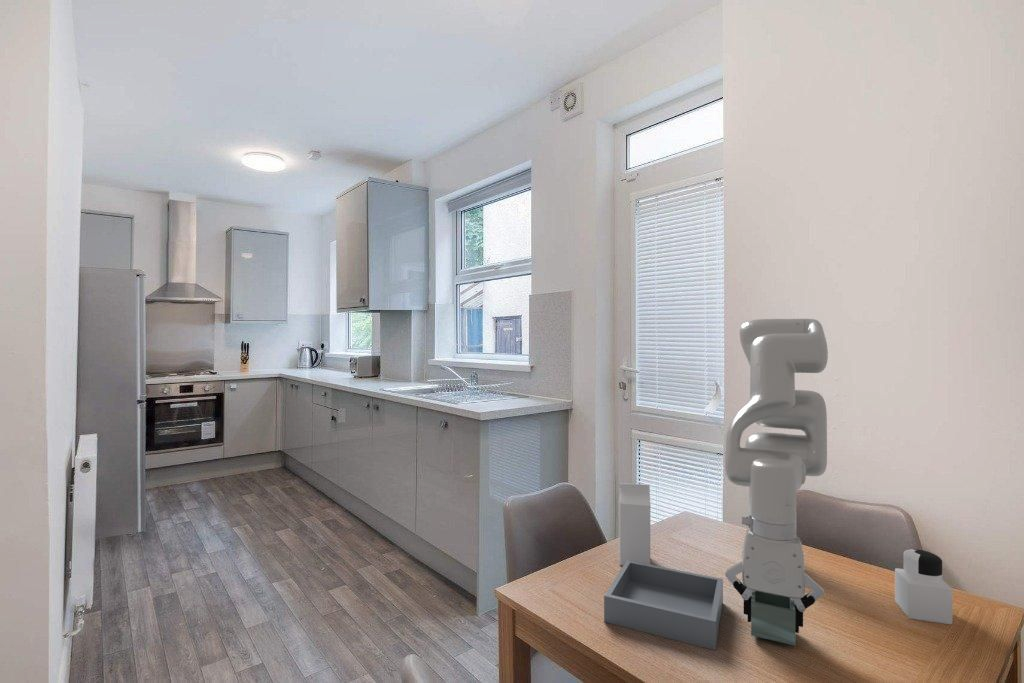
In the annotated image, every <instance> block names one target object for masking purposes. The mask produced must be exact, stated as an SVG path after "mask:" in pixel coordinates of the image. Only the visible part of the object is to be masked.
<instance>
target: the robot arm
mask: <svg viewBox="0 0 1024 683" xmlns="http://www.w3.org/2000/svg"><path fill="white" fill-rule="evenodd" d="M739 340H740V344H741V348H742V350H743V353H744V355H745V358H746V359H747V361H748V364H749V368H750V369H749V370H750V371H749V374H750V375H749V376H750V377H749V399H748V402H747V403H746V404H745V405H744V406H743V407H741V408H740V409H739V410H738V412H736V413H735V415H734V416H733V418H732V419H731V421H730V423H729V425H728V428H727V431H726V434H725V452H724V471H725V476H726V477H727V479H728V480H729V482H731V483H732V484H733V485H736V486H741V487H748V516H746V517H745V516H742V517H741V525H744V526H747V527H748V529H747V530H746V532H745V536H744V540H743V547H742V552H741V553H742V554H741V557H742V561H740V562H738V563H736V564H735V565H733V566H731V567H729V568H727V569H726V570H725V574H724V575H725V577H726V578H727V579H728V581H729V583H731V584H732V586H733V588H734V590H736V591H737V593H738V594H739V595H740V597H741V598H742V600H743V615H746V616H747V623H751V596H752V593H753V591H758V592H763V593H768V594H773V595H778V596H783V597H788V598H792V599H793V601H794V603H795V611H796V621H795V634H799V633H800V627H801V628H804V612H805V611H806V609H808V608H810V607H811V606H813V605H814V604H815V602H817V601H818V600H819V599H820V598H822V597H823V596H824V595H825V591H824V588H823V587H822V586H821V585H819V584H818V583H817V582H816V581H815V580H814V579H813V578H812V577H811V576H809V574H808V573H807V572H806V569H805V554H804V549H803V545H802V544H803V543H802V540H801V538H800V537H799V536H798V535H797V492H798V491H799V490H800V488H802V485H804V484H805V483H806V478H807V477H820V476H822V475H823V474H825V472H826V470H827V465H828V417H827V406H826V402H825V399H824V397H823V396H822V394H820V393H819V392H817V391H813V390H804V389H796V380H795V374H797V373H798V374H799V373H801V374H803V373H804V374H819V373H822V372H823V371H824V370H825V369H826V367H827V364H828V359H829V357H828V356H829V355H828V354H829V352H828V342H827V337H826V335H825V332H824V328H823V325H822V323H821V322H820V321H818V319H814V318H762V319H761V318H760V319H751V320H748V321H745V322H744V323H742V324H741V325H740V327H739ZM754 423H755V424H757V425H758V426H759V427H760V426H761V427H765V428H772V429H784V430H785V429H786V430H799V431H802V432H804V434H791V433H790V434H787V433H781V432H780V433H779V432H756V433H752V434H751V435H749V436H748V437H747V439H746V440H745V444H744V445H745V447H741V438H742V435H743V433H744V431H745V430H746V429H748V427H750V426H751V425H753V424H754ZM739 574H741V579H742V581H741V580H740V579H738V577H737V575H739ZM806 586H807V587H808V588H809V589H811V591H810V592H808V593H805V592H806Z"/></svg>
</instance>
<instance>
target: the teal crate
mask: <svg viewBox="0 0 1024 683" xmlns="http://www.w3.org/2000/svg"><path fill="white" fill-rule="evenodd" d="M751 595H752V596H751V622H750V624H751V625H750V636H752V637H756V638H760V639H766V640H768V641H769V640H770V641H775V642H779V643H783V644H786V645H790V646H795V647H796V632H795V621H796V611H795V603H794V601H793V599H792V598H788V597H783V596H778V595H773V594H768V593H763V592H758V591H753V593H752V594H751Z"/></svg>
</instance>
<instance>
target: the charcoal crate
mask: <svg viewBox="0 0 1024 683" xmlns="http://www.w3.org/2000/svg"><path fill="white" fill-rule="evenodd" d="M603 601H604V602H603V603H604V604H603V605H604V606H603V610H604V611H603V622H604V623H607V624H611V625H615V626H620V627H622V628H627V629H631V630H635V631H638V632H642V633H647V634H650V635H655V636H659V637H662V638H666V639H670V640H674V641H678V642H682V643H684V644H685V643H686V644H689V645H693V646H697V647H701V648H704V649H709V650H713V651H717V650H716V649H717V645H718V644H717V643H718V638H719V637H718V636H719V630H720V626H721V616H722V613H723V612H722V611H723V605H724V578H720V577H715V576H710V575H704V574H700V573H695V572H689V571H684V570H679V569H675V568H669V567H663V566H659V565H654V564H651V563H650V564H644V563H639V562H634V561H629V560H626V562H625V564H624V565H622V566H621V569H620V570H619V572H618V573H617V575H615V578H614V579H613V581H612V583H611V585H610V586H609V588H607V591H606V592H605V594H604V596H603Z"/></svg>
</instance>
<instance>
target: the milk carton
mask: <svg viewBox="0 0 1024 683" xmlns="http://www.w3.org/2000/svg"><path fill="white" fill-rule="evenodd" d="M650 487H651V486H650V484H643V483H640V484H639V483H626V482H624V483H623V482H620V483H619V565H620V566H623V565H624V564H625V562H626V560H629V561H634V562H639V563H644V564H650V565H651V494H650V493H651V490H650Z"/></svg>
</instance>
